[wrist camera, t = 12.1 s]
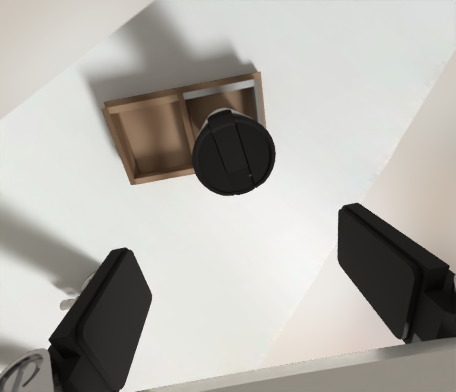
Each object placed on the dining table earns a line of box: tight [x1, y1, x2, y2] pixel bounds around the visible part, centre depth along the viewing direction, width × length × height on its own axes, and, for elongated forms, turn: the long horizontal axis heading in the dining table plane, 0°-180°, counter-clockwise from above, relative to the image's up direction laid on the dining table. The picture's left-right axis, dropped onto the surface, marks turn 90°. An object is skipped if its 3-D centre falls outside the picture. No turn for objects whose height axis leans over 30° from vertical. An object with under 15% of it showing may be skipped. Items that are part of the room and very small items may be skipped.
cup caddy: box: [102, 72, 266, 185], centre depth 33 cm, size 23×13×4 cm, turn 100°
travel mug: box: [192, 108, 276, 196], centre depth 24 cm, size 6×7×20 cm
